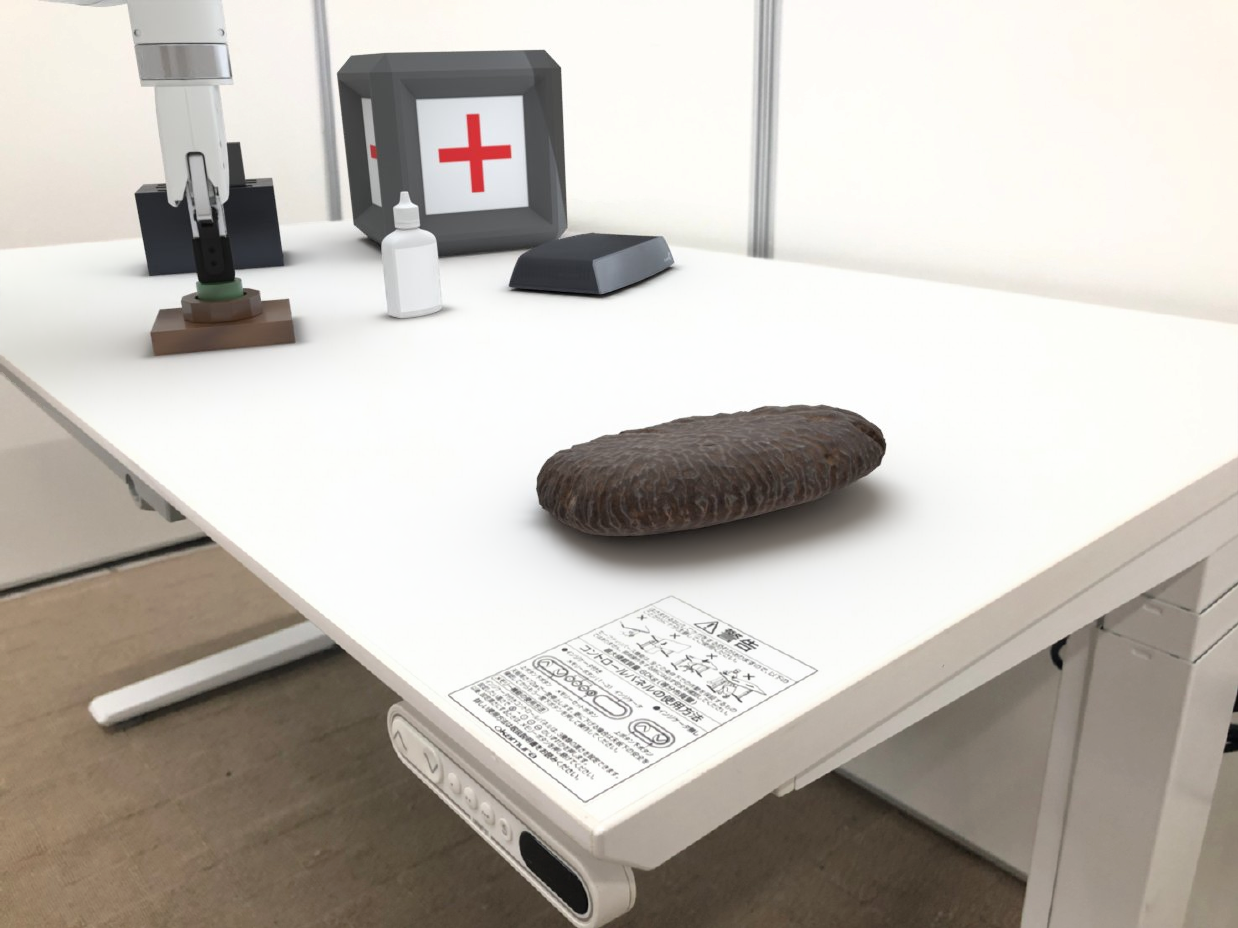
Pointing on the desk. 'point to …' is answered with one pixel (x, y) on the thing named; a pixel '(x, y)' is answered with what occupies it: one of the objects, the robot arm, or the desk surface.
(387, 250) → the eye dropper bottle
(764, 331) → the desk surface
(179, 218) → the toaster
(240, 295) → the button
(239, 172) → the toaster slider
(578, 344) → the desk surface
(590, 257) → the hard drive
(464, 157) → the first aid kit
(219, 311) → the brown button base
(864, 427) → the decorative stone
